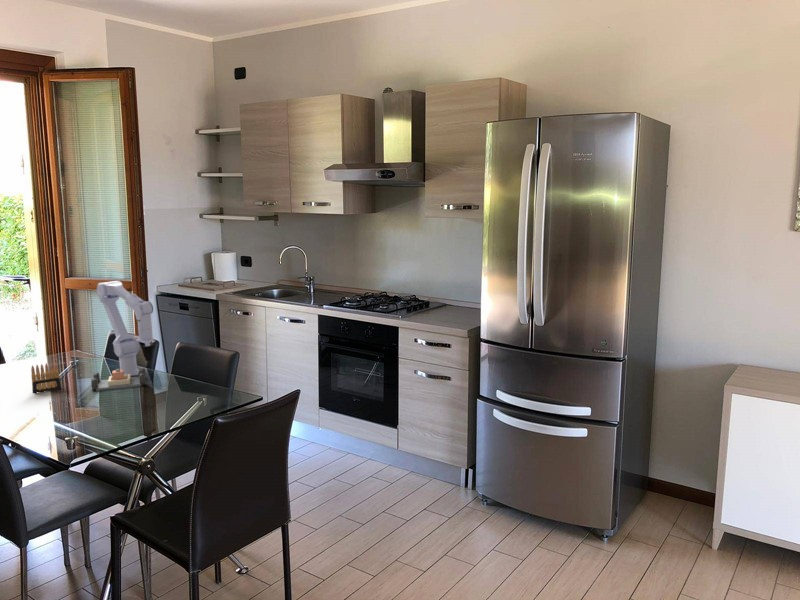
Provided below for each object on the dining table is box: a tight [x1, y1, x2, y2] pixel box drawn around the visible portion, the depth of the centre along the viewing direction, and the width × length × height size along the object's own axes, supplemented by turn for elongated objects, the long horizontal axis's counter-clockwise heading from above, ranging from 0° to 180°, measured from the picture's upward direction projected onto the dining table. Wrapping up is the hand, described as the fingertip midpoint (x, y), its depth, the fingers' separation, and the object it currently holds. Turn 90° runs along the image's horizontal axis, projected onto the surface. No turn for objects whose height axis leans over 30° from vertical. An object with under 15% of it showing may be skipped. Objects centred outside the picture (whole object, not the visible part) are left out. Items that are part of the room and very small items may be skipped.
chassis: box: [90, 367, 147, 392], centre depth 292 cm, size 14×21×5 cm, turn 109°
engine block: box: [111, 368, 124, 380], centre depth 291 cm, size 4×4×6 cm
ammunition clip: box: [30, 361, 62, 394], centre depth 284 cm, size 11×2×12 cm, turn 127°
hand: (147, 358), depth 298 cm, fingers open, 7 cm apart
